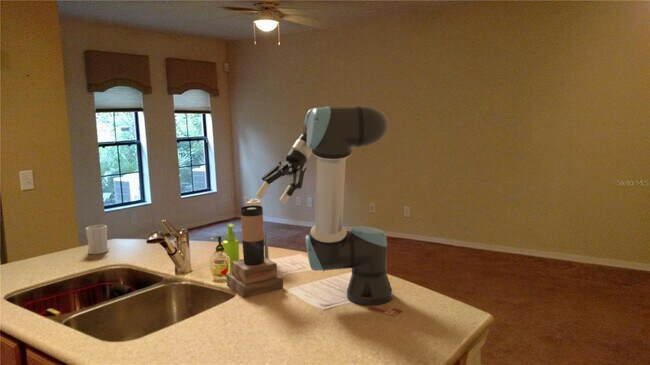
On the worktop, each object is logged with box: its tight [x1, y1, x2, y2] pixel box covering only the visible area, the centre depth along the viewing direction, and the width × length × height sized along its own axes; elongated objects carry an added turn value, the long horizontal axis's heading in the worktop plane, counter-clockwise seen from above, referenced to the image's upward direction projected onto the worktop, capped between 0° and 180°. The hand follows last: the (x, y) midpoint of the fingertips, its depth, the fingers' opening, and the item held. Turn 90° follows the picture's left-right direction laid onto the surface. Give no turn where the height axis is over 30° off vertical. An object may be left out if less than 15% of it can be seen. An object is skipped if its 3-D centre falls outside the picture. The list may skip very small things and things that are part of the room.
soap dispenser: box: [222, 222, 240, 274], centre depth 181 cm, size 6×7×20 cm
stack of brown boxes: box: [226, 256, 284, 299], centre depth 167 cm, size 15×15×9 cm
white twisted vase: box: [243, 196, 270, 260], centre depth 197 cm, size 8×8×28 cm
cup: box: [85, 224, 110, 255], centre depth 217 cm, size 10×9×12 cm
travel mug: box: [240, 205, 265, 265], centre depth 165 cm, size 8×8×20 cm
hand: (269, 199), depth 169 cm, fingers open, 13 cm apart
